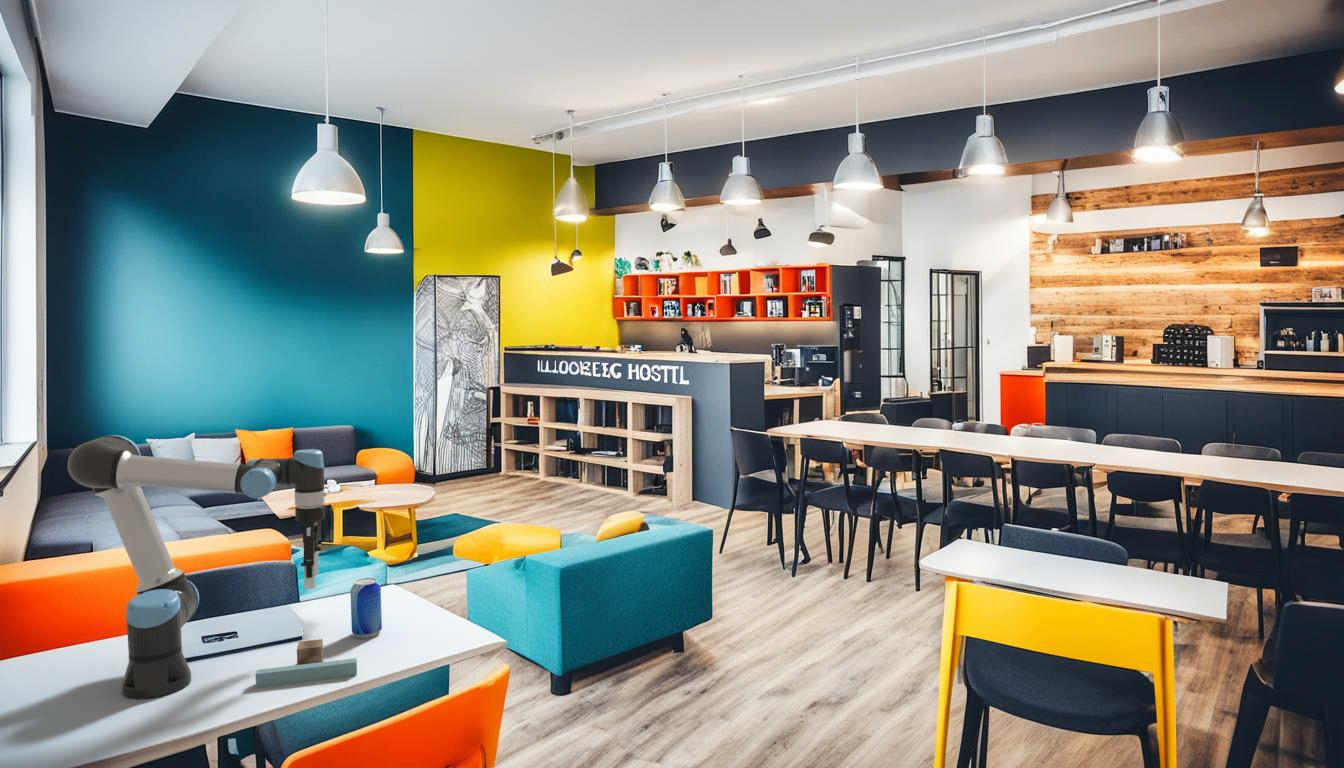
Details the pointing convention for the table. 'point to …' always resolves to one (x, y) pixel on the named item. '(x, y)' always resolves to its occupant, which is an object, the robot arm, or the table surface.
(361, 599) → the beer can
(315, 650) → the block
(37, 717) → the table surface
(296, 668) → the board
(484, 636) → the table surface
